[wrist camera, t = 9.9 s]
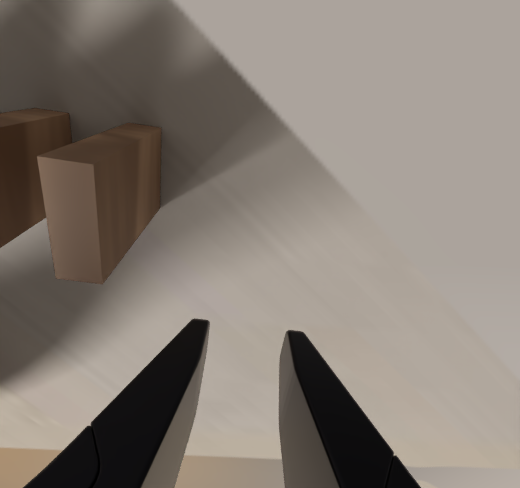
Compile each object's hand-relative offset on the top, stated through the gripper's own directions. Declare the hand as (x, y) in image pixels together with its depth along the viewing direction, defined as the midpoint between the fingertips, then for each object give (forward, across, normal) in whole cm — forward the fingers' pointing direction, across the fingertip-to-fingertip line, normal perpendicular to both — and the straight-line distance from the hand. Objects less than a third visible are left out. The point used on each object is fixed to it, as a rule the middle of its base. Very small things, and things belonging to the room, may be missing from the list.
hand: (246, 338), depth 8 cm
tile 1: (+13, +6, 0) cm, 15 cm away
